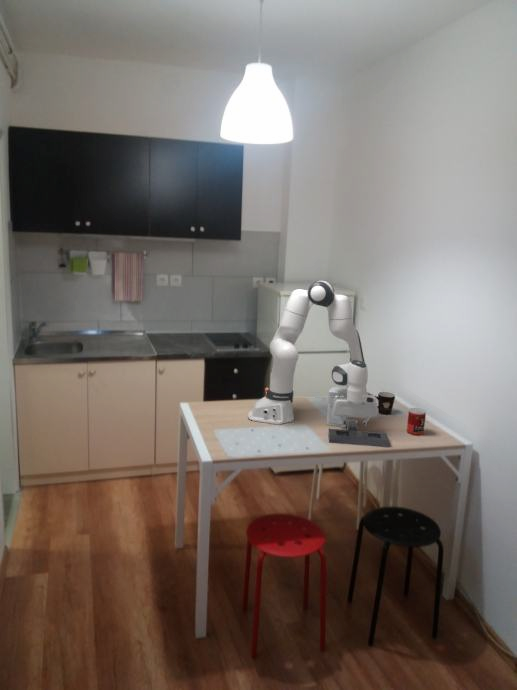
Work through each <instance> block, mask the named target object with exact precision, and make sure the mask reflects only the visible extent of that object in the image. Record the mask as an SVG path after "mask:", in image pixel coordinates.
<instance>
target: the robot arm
mask: <svg viewBox="0 0 517 690" xmlns="http://www.w3.org/2000/svg"><path fill="white" fill-rule="evenodd" d="M350 301H351V300H350V298H349V296H347V295H344V294H338V293H337V294H336V293H335V289H334V286H333V285H332V284H331V283H330V282H329V281H325V280H318V281H315V282H313V283H312V284H310V285H309V287H308V289H307V290H306V289H302V288H299V289H294V290H293V291H292V292H291V294H290V296H289V298H288V300H287V303H286V305H285V307H284V310H283V314H282V317H281V320H280V323H279V326H278V328H277V330H276V332H275V333H274V336H273V338H272V340H271V341H270V343H269V352H270V354H271V355H272V357H273V364H272V369H271V372H270V382H269V387H266V388H264V393H265V394H264V397H261V398H260V399H258V400H257V401H256V402H255V403H254V404H253V408H252V409H251V410H250V411H249V412H248V413H247V418H249V419H250V420H249V421H251V420H252V421H253V422H260V423H265V424H272V425H282V424H285V423H291V422H293V421H294V420H295V416H294V409H293V402H294V390H293V389H294V376H295V371H296V367H297V362H298V360H299V352H298V348H297V347H296V342H297V341H298V338H299V336H300V335H301V334H302V332H303V331H304V327H305V325H306V321H307V318H308V316H309V315H308V314H309V312H310V310H311V307H312V306H313V305H316V306H319V307H320V306H321V307H323V308H326V309H327V317H328V328H329V331H330V333H331V334H332V335H333V336H334V337H336V338H337V339H340V340H343V341H344V342H346V344H347V345H348V349H349V353H350V361H349V362H347V363H341V364H338V365H335V366H333V368H332V370H331V379H332V381H333V382H334V384H335V385H338V386H342V387H344V386H345V387H346V388H347V396H339V395H337V396H335V397H337V398H335V397H334V398H333V404H334V407H333V414H334V415H336V416H340V417H341V419H342V425H346V420H344V419H343V418H344V416H349V417H357V418H359V417H360V418H363V417H364V418H365V420H362V426H363V427H364V426H365V427H367V423H368V422H369V420H370V418H377V417H378V414H379V411H378V407H377V406H378V404H377V398H376V397H375V396H376V395H374V394H373V393H370V392H368V391H367V384H368V377H369V375H368V373H369V372H368V365H367V364H366V361H365V358H364V353H363V348H362V342H361V337H360V333H359V332H358V329H356V327H355V325H354V319H353V318H354V317H353V312H352V311H353V310H352V304H351V302H350ZM346 426H347V425H346Z"/></svg>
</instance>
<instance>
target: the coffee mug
mask: <svg viewBox="0 0 517 690" xmlns="http://www.w3.org/2000/svg"><path fill="white" fill-rule="evenodd" d="M374 396H375V397H376V400H377V401H378V402H377V403H378V404H377V408H378V414H379V415H381V416H382V415H383V416H391V415H392V412H393V409H394V404H395V400H396V399H395V398H396V394H395V393H393V392H388V391H379V392H378V393H377V395H374Z"/></svg>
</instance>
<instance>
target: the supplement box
mask: <svg viewBox="0 0 517 690" xmlns="http://www.w3.org/2000/svg"><path fill="white" fill-rule="evenodd" d="M327 395H328V398H327V410H326V425H328V426H331V427H332V426H334V427H340V428H346V427H347V426H348V419H349V417H350V416H344V418H343V419H344V420H346V425H342V419H341V417H340V416H336V415H334V414H333V407H334V404H333V398H334V397H335V396H337V395H339V396H347V387H346V388H345V387H339V386H331V388H330V389H329V390H328V394H327ZM335 398H337V397H335Z"/></svg>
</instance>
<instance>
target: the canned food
mask: <svg viewBox="0 0 517 690" xmlns="http://www.w3.org/2000/svg"><path fill="white" fill-rule="evenodd" d="M426 415H427V410H425V409H423V408H418V407H410V408H409V409H408V415H407V423H406V424H407V425H406V433H407V434H409V435H411V436H418V437H420V436H422V435H423V434H424V431H425V424H426Z"/></svg>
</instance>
